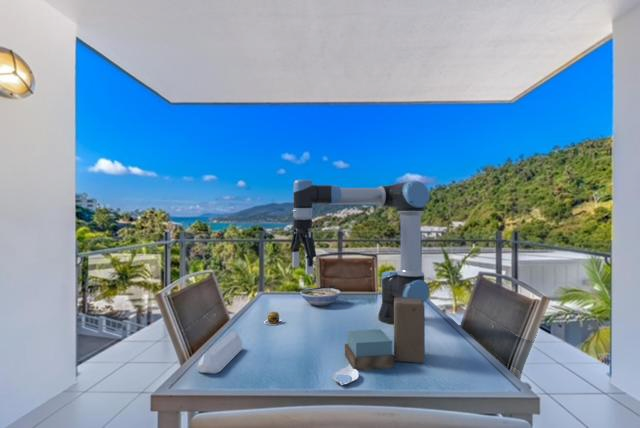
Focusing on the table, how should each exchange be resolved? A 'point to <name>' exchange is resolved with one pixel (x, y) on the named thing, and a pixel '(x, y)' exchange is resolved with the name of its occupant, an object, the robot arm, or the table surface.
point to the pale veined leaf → (346, 373)
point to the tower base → (368, 361)
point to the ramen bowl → (320, 295)
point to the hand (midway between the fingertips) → (302, 270)
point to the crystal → (220, 354)
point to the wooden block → (409, 329)
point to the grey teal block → (369, 343)
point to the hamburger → (273, 318)
